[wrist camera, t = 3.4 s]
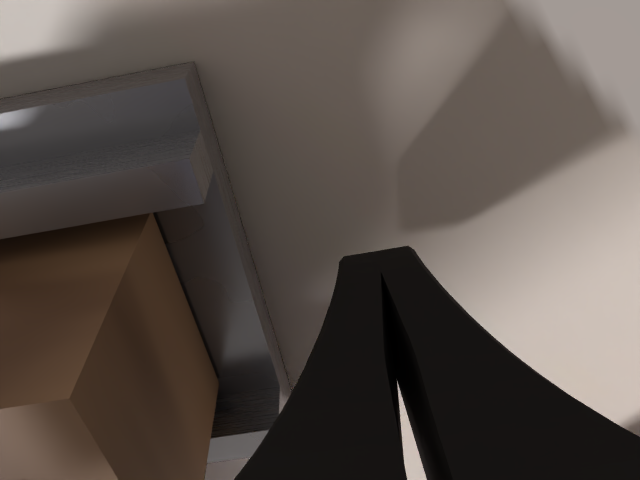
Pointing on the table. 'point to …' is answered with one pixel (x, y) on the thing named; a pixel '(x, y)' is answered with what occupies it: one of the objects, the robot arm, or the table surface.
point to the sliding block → (100, 358)
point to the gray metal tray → (168, 209)
